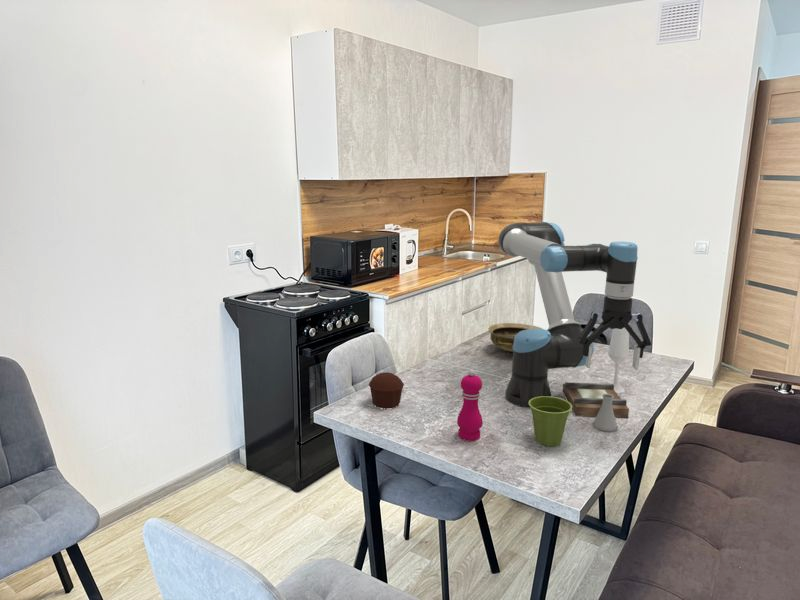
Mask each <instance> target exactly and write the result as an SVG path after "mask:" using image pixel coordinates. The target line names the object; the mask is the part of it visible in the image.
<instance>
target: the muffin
mask: <svg viewBox="0 0 800 600" xmlns="http://www.w3.org/2000/svg"><path fill="white" fill-rule="evenodd" d="M368 386H369V388H370V396H371V401H372V405H374V407H375V408H378V407H379V408H378V409H382V408H383V410H384V408H385V410H386V408H392V409H395V408H397V407H399V405H400V404H399V403H401V399H402V395H403V394H402V393H403V388H404V386H405V384H404V382H403V380H402V379H401V378H400V377H399V376H398V375H396V374H394V373H392V372H389V371H387V372H380V373H377V374H376V375H374V376H373V377H372V378H371V379H370V381H369V383H368ZM396 406H397V407H396Z"/></svg>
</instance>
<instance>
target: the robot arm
mask: <svg viewBox="0 0 800 600" xmlns="http://www.w3.org/2000/svg"><path fill="white" fill-rule="evenodd" d="M497 241H498V242H497V243H498V246H499V248H500V250H501V251H502V252H503V253H504V254H506V255H508V256H510V257H521V258H525V259H526V260H528V263H529V264H531V265H533V266H534V270H535V274H536V278H537V282H538V287H539V290H540V294H541V298H542V302H543V306H544V311H545V314H546V318H547V319H546V320H547V322H548V328H547V329H545V328H542V329H527V330H523V331H520V332H519V333H517V334H516V336H515V338H514V344H513V355H512V364H511V377H510V379H509V381H508V384H507V386H506V388H505V393H504V398H505V400H506V401H507V402H509V403H510V404H512V405H515V406H517V407H522V408H528V409H529V408H530V409H531V407H530V406H529V400H531V399H532V398H535V397H540V396H551V397H553V396H552V390H551V388H550V384H549V380H548V376H549V370H552V369H553V370H554V369H567V368H578V367H584V366H585V367H586V368H587V369H591V367H592V366H591V365H592V357H593V354H594V345H595V344H594V341H596V340H597V339H598V338H599V337H600V336H601V334H603V333H604V332H605V331H607V330H608V329H611V330H613V329H616V328H617V329H622V328H625V329H626V330H627V331H628V333H629V336H630V337H632V340H634V342H635V343H636V345H634V346H633V347H634V348H633V357H632V365H631V367H632V368H633V369H634V370H636V371H638V370H639V366H640V365H639V364H640V359H643V358H644V357H643V356H644V350H645V349H646V347H650V346H651V345H652V342H651V340H650V337H649V335H648V331H647V329H646V328H645V324H644V322H643V318H644V317H643V315H642V314H641V313H640V312H636V313H632V307H633V299H632V297H633V296H634V291H635V289H634V288H635V281H636V271H637V264H638V263H637V262H638V245H637V244H636V243H635V242H630V241H629V242H628V241H612V242H610V243H609V245H606V244H602V243H589V244H585V245H565V243H564V242H565V236H564V233H563V230H562V228H561V227H560V225H558V224H557V223H554V222H546V221H543V222H514V223H511V224H508V225H507V226H505V227H504V228H503V229H502V230H501V231H500V233H499V235H498V239H497ZM587 271H590V272H591V271H594V272H595V271H599V272H602V273H603V272H604V273H606V277H605V287H604V294H605V296H604V297H603V308H602V309H603V310H602V312H601V313H600V312H596V311H592V312H591V313H590V314H591V315H590V317H589V320H588V322H587V323H586V325H585V326H584V328H582V326H581V323H580V322H578V321H576V320H575V316H574V314H573V313H574V312H573V310H572V306H571V301H570V297H569V295H568V294H569V293H568V290H567V287H566V284H565V283H566V282H565V279H564V276H563V272H565V273H566V272H587ZM600 319H602V322H601V323H599V325H598V326H597V327H596V329H594V330H593V328H594V327H595V326H596V323H597V321H599V320H600ZM632 319H633V321H634V322H635V324H636V326H637V328H638V330H639V333H640V335H641V337H642V340H643V341H642V340H641V338H640V337H639V336H638V335H637V333H636V332H635V331H634V330H633V328H632V326H631V325H630V322H631V320H632ZM592 330H593V331H592Z"/></svg>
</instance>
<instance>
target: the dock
mask: <svg viewBox="0 0 800 600" xmlns="http://www.w3.org/2000/svg"><path fill="white" fill-rule="evenodd" d="M613 384H614V383H595V382H593V383H591V382H568V381H567V382H564V383H562V391H561V392H562V393H563V396H564V398H565V400H566V401H568V402H570V403H571V404H572V410H571V411H573V414H574V415H575V416H576V417H594V418H596V416H597V414H598V412H599V410H600V408H601V406H602V402H603V396H602V395H603V394H610V395H613V396H614V398H613V400H612V407H613V412H614V416H615V419H616V418H617V419H618V418H621V419H629V413H630V408H629V406H628V405H627V403H628V401H627V399H626V398H625V399H624V398H623V399H622V398H621V397H620V396H619V393H616V392H615V391H614V385H613Z"/></svg>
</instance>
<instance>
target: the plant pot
mask: <svg viewBox="0 0 800 600" xmlns="http://www.w3.org/2000/svg"><path fill="white" fill-rule="evenodd" d="M529 406H530V407H531V408H530V412H531V415H532V423H533V433H534V439H535V442H537V443H538V444H539V445H543V446H546V447H557V446H559V445H561V443H562V441H563V436H564V432H565V429H566V424H567V420H568V418H569V416H570V411H573V410H572V404H571V403H570V402H568V401H567V399H564V398H561V397H558V396H557V397H556V396H552V397H551V396H540V397H535V398H532V399H531V400H529Z"/></svg>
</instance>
